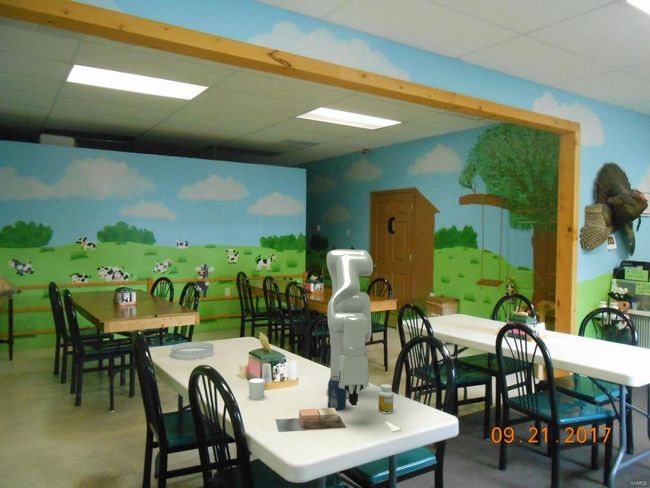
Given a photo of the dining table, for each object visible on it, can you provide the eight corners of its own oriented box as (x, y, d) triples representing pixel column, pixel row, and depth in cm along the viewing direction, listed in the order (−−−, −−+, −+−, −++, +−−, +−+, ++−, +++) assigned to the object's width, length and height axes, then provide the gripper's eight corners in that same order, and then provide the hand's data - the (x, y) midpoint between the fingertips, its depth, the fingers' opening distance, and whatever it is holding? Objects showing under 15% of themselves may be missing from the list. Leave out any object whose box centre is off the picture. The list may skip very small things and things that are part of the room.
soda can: (343, 406, 191) (344, 375, 191) (347, 412, 184) (348, 380, 184) (326, 407, 190) (326, 376, 189) (329, 413, 183) (330, 381, 183)
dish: (201, 348, 280) (201, 340, 280) (221, 356, 264) (221, 347, 264) (163, 354, 265) (163, 345, 265) (182, 363, 249) (183, 353, 249)
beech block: (334, 419, 175) (334, 407, 175) (337, 425, 169) (338, 413, 169) (317, 419, 174) (317, 408, 174) (320, 426, 168) (320, 414, 168)
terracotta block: (316, 419, 174) (316, 408, 174) (319, 426, 168) (319, 414, 168) (299, 420, 172) (299, 409, 172) (301, 427, 167) (301, 415, 167)
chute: (339, 418, 178) (339, 409, 178) (346, 430, 167) (346, 420, 167) (275, 422, 173) (275, 412, 173) (278, 434, 163) (278, 424, 163)
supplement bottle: (377, 408, 189) (377, 383, 189) (391, 408, 189) (391, 383, 189) (379, 414, 184) (380, 388, 183) (394, 413, 184) (394, 387, 184)
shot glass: (262, 401, 195) (262, 383, 195) (245, 399, 196) (245, 382, 196) (267, 395, 202) (267, 378, 201) (251, 394, 203) (251, 377, 203)
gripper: (371, 349, 177) (370, 400, 177) (331, 349, 175) (330, 402, 174) (378, 353, 170) (377, 406, 170) (335, 354, 167) (334, 408, 167)
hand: (353, 404), depth 172 cm, fingers closed
